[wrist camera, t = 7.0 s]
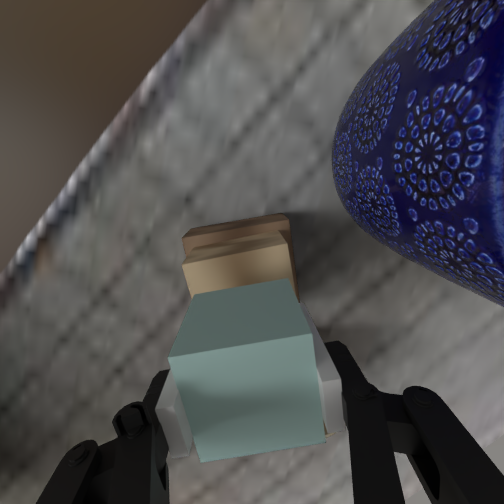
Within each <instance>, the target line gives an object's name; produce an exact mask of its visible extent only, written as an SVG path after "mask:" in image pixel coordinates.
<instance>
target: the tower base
mask: <svg viewBox="0 0 504 504" xmlns="http://www.w3.org/2000/svg"><path fill="white" fill-rule="evenodd" d="M277 230H278V231H279V232H280V234H281V235H282V237H283V238H284V239H285V241H286V242H287V244H288V251H289V257H290V263H291V269H292V275H293V281H294V287H295V293H296V297H297V300H298V302H299V303H300V300H299V292H298V285H297V277H296V269H295V262H294V254H293V246H292V238H291V231H290V223H289V219H288V218H287V217H286V216H284V215H283V214H282V213H278V214H272V215H266V216H261V217H255V218H249V219H243V220H238V221H232V222H226V223H220V224H215V225H209V226H203V227H197V228H192V229H190V230H189V231H188V232H187V233H186V234H185V235H184V236H183V237H182V242H183V246H184V250H185V254H186V258H187V256H188V255H189V253H190V252H191V250H192V249H193V248H194V247H198V246H203V245H208V244H213V243H218V242H223V241H228V240H233V239H238V238H242V237H247V236H252V235H257V234H262V233H267V232H272V231H277Z"/></svg>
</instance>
